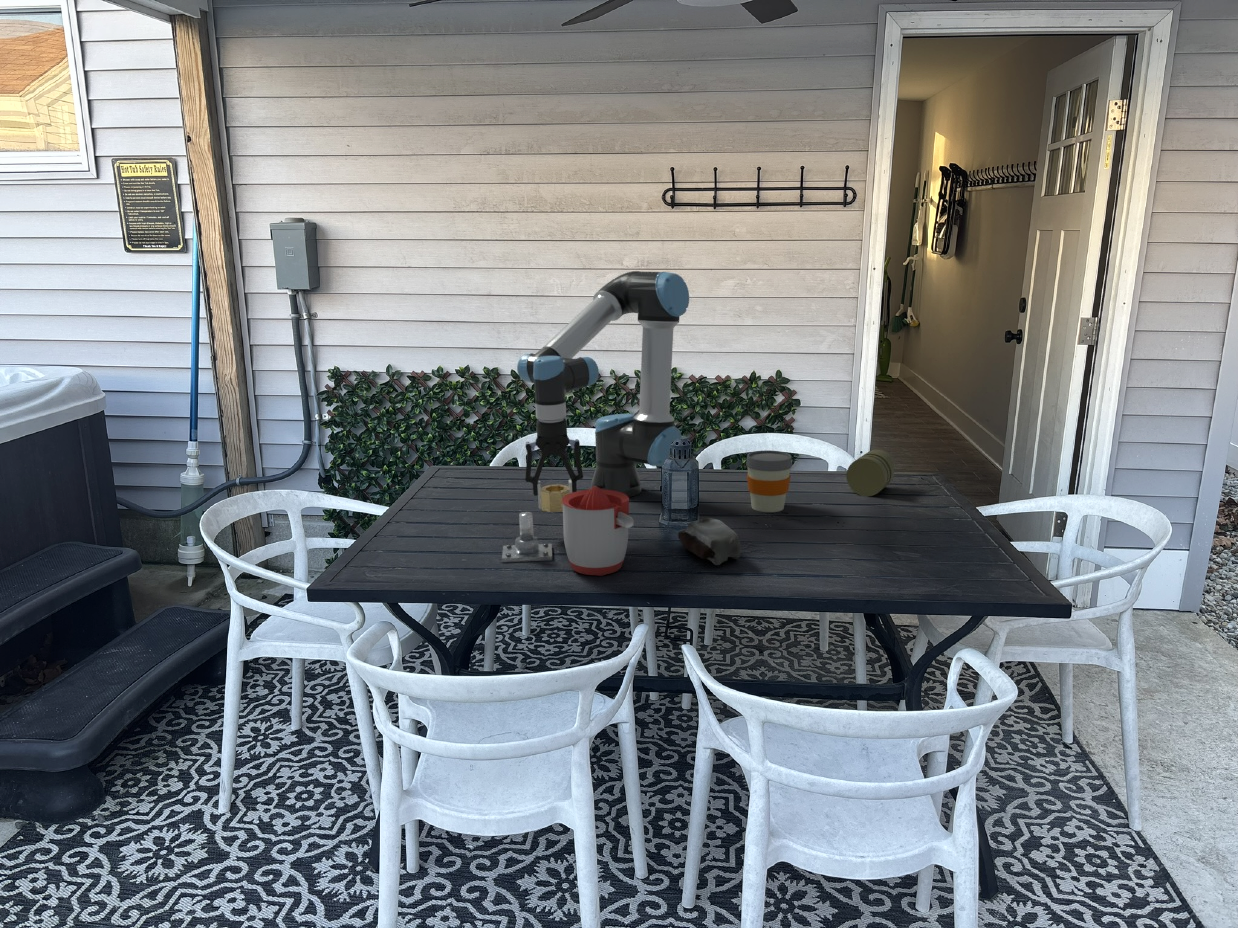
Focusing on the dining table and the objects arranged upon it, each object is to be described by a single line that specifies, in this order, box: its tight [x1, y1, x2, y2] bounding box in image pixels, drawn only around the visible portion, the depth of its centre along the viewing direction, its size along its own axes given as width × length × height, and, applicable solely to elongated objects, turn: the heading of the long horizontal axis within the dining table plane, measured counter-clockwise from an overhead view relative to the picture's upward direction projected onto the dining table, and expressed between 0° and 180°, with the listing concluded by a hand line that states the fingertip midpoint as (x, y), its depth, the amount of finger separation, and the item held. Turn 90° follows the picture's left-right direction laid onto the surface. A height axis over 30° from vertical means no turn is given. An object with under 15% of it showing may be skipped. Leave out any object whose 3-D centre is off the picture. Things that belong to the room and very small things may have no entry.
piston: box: [845, 449, 896, 497], centre depth 275 cm, size 11×12×11 cm
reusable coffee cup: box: [745, 450, 793, 513], centre depth 260 cm, size 13×13×15 cm
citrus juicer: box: [561, 486, 635, 577], centre depth 216 cm, size 16×17×20 cm
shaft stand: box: [501, 511, 553, 563], centre depth 226 cm, size 12×9×10 cm
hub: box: [541, 483, 569, 513], centre depth 237 cm, size 7×7×5 cm
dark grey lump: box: [677, 517, 742, 566], centre depth 224 cm, size 18×11×8 cm, turn 20°
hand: (555, 506), depth 238 cm, fingers closed on hub, 7 cm apart
